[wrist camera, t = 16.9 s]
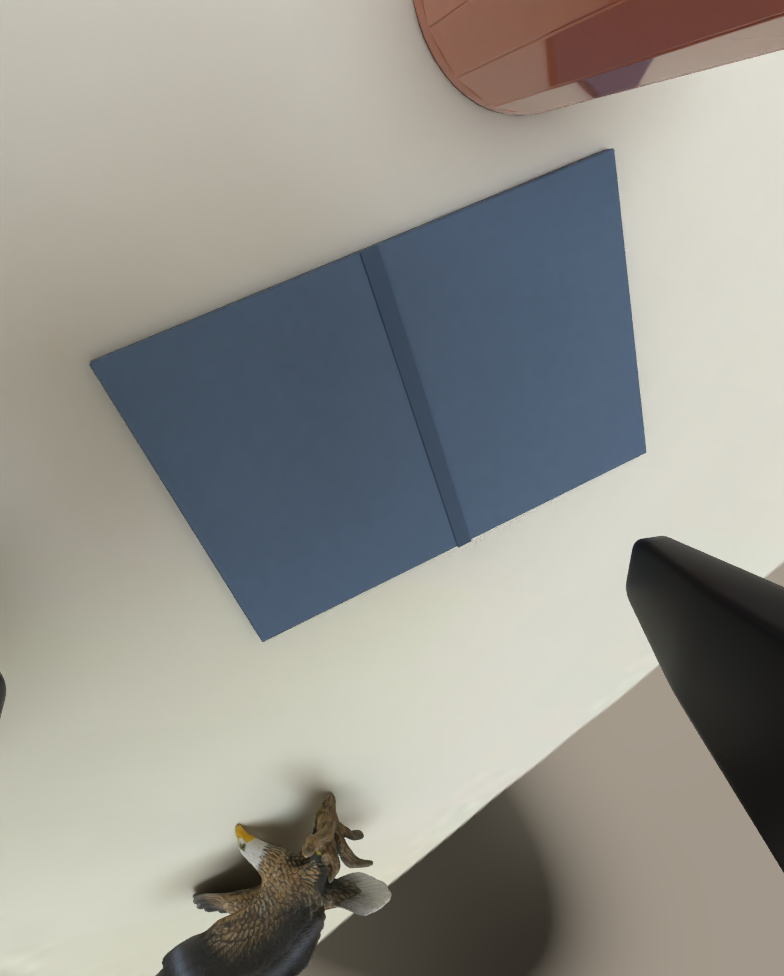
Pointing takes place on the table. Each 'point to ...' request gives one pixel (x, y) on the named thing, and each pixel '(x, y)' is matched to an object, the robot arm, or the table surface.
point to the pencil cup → (588, 45)
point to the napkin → (395, 395)
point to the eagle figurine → (280, 905)
